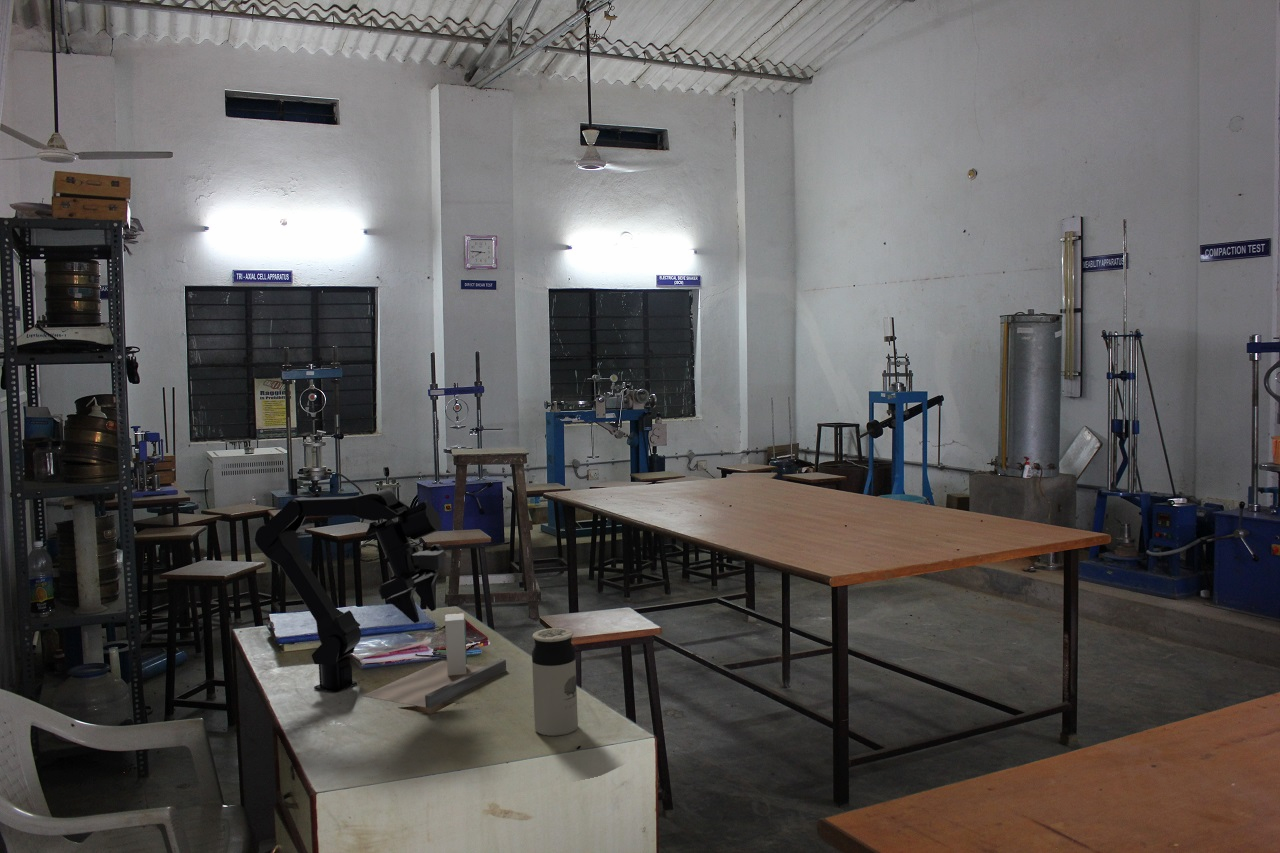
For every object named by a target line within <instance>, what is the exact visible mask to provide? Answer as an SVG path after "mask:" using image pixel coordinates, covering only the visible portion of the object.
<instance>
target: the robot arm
mask: <svg viewBox="0 0 1280 853" xmlns="http://www.w3.org/2000/svg"><path fill="white" fill-rule="evenodd" d="M333 516H338V517H339V516H348V517H349V516H350V517H355V518H357V519H361V520H367V521H372V522H369V525H368V528H367V530H366V532H365V537H368V536H372V535H374V534H375V535H376V536H377V539H378V541H379V544H380V546H381V548H382V550H383V553H384V556H385V557H384V558H382V562H383V564H385V565H386V564H387V563H388V565H389V568H390V570H391V572H392V576H390V580H388V581H386V582H384V583H383V584H381V585H379V586H380V587H379V589H378V594H379V596H380V598H381V600H385V601H386V603H387V602H389V603H390V604H391V605H392V606H394V607H395V608H397V609H398V610H399V611H400V612H401V613H402V614H404V616H406V617H407V618H408V619H409V620H410V621H411V622H413V624H417V623H419V622H420V616H419V612H418V609H417V605H416V602H415V599H414V595H415V593H416V594H417V595H418V597H419V598H420V600H421V601H422V602H423V604H425V606H426V607H427V608H428V609H429V611H431V612H434V611H436V610H437V604H436V594H435V581H436V579H437V577H438V576H439V574H440V572H439V571H440V570H441V568H442V567H445V558H446V557H447V553H445V549H443V547H442V546H441V544H433V545H431V546H430V548H429V549H425V550H419V547H418V546H417V545H416V544H415V545H412V543H411V541H410V539H412V540H413V541H416V540H419V539H421V538H424V537H427V536H429V535H432V534H433V533H434V534H435V533H436V532H439V531H441V529H442V520H441V517H440V514H439V513H438V512H437V510H436V509H435V508H434V506H432V505H430V502H429V500H425V501H422V502H419V503H418V504H417V505H415V506H412V507H411V506H409V505H407V504H405V503H404V502H402V501H401V500H399V499H398V498H397V496H396V495H395V494H394V492H393V491H392V490H389V489H382V490H381V489H380V490H377V491H376V490H375V491H372V492H368V493H365V494H359V495H355V496H331V497H330V496H329V497H328V496H327V497H326V496H325V497H324V496H323V497H305V496H300V497H297V498H293V499H290V500H288V501H287V503H286V504H285V505H284V506H283V507H282V509H281V510H280V511H278V512H277V513H276V514H275V515H273V517H272V518H270V519H269V521H268V522H266V524H264V525H262V526H260V527H259V528H258V529H257V530H256V532H255V537H254V543H255V545H256V547H257V548H258V549H259V550H260V551H261V553H262V554H264V556H265V557H266V558H268V560H271V561H273V562H274V563H275V564H277V565H278V566H280V567H281V569H282V571H283V572H284V574H285V576H286V577H287V578H288V580H289V581H290V583H291V585H292V586H293V588H294V589H295V591H296V593H297V594H298V596H299V597H300V599H301V600H302V601H303V603H304V605H305V606H306V608H307V609H308V611H309V613H310V614H311V615H312V617H313V618H314V620H315V622H316V630H317V631H316V632H317V637H318V639H319V642H320V645H319V646H318V647H317V648H316V650H315V651H313V653H312V654H311V659H312V661H313V663H314V665H318V676H319V677H318V678H319V679H318V680H319V684H317V685H314V687H313V689H314V690H317V691H323V692H329V693H332V694H333V693H338V692H341V691H344V690H345V689H348V688H350V687H352V686H355V685H357V684H358V681H357V680H353V665H352V662H351V657H349V656H350V655H352V654H353V653H354V652H355V649H356V646H357V645H359V643H360V641H361V636H362V631H361V628H360V626H361V624H360V623H359V622H358V621H357V620H356V619H355V617H354V615H353V612H352V611H351V610H347V611H345V612H343V611H341V610H340V609H338V608H337V607H336V606H335V604H334V602H333V601H332V600H331V597H330V596H329V595H328V593H327V592H326V589H325V588H324V587H323V585H322V583H320V581H319V579H318V578H317V577H316V576H317V575H315V573H314V571H313V570H312V569H311V567H310V566H309V564H308V562H307V561H306V559H305V558H304V556H303V554H302V552H301V543H300V542H301V541H300V538H299V536H298V534H297V532H298V531H299V529H300V528H301V526H303V523H304V521H305V519H306V517H333ZM397 518H399V519H398V520H397V521H394V519H397ZM379 520H383V521H380V522H376V521H379Z"/></svg>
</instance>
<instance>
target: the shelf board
mask: <svg viewBox="0 0 1280 853" xmlns="http://www.w3.org/2000/svg"><path fill="white" fill-rule="evenodd" d="M504 672H507V659H505V658H503V659H502V658H500V659H498V660H496V661H494V662H492V663H489V664H488V665H486V666H481V665H480V666H479V665H471V664H468V663H467V664H466V674H460V675H449V676H448V673H447V660H441V661H438V662H436V663H434V664H431V665H428V666H427V667H424V668H422V669H420V670H417V671H415V672H413V673H410V674H408V675H406V676H404V677H401V678H399V679H397V680H395V681H392V682H391V683H390V682H389V683H388V684H386V685H383V686H381V687H379V688H376V689H375V690H372V691H369V692H368V693H365V694H363V695H362V697H366V698H372V699H376V700H382V701H388V702H394V703H399V704H405V705H409V706H401V707H399V709H400V710H406V711H411V712H416V713H422V714H428V715H432V714H434V713H436V712H438V711H440V710H442V709H443V708H444V709H445V708H446V707H448V706H450V705H452V704H454V702H453V701H452V702H446V701H448V700H450V699H452V698H454V697H456V696H458V695H460V694H463V693H464V692H466V691H469V690H470V689H472V688H475V687H476V686H479V685H481V684H482V683H484V682H486V681H489V680H490V679H492V678H494V677H496V676H498V675H500V674H503V673H504Z"/></svg>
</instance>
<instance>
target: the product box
mask: <svg viewBox="0 0 1280 853" xmlns="http://www.w3.org/2000/svg"><path fill="white" fill-rule="evenodd" d="M444 623H445V635H446V651H447V658H446V661H447V673H448V676H449V675H460V674H466V664H467V665H468V654H467V653H468V652H467V650H468V649H466V635H467V630H466V629H467V626H466V618H465V613H464V612H462V613H449V614H445V616H444Z"/></svg>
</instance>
